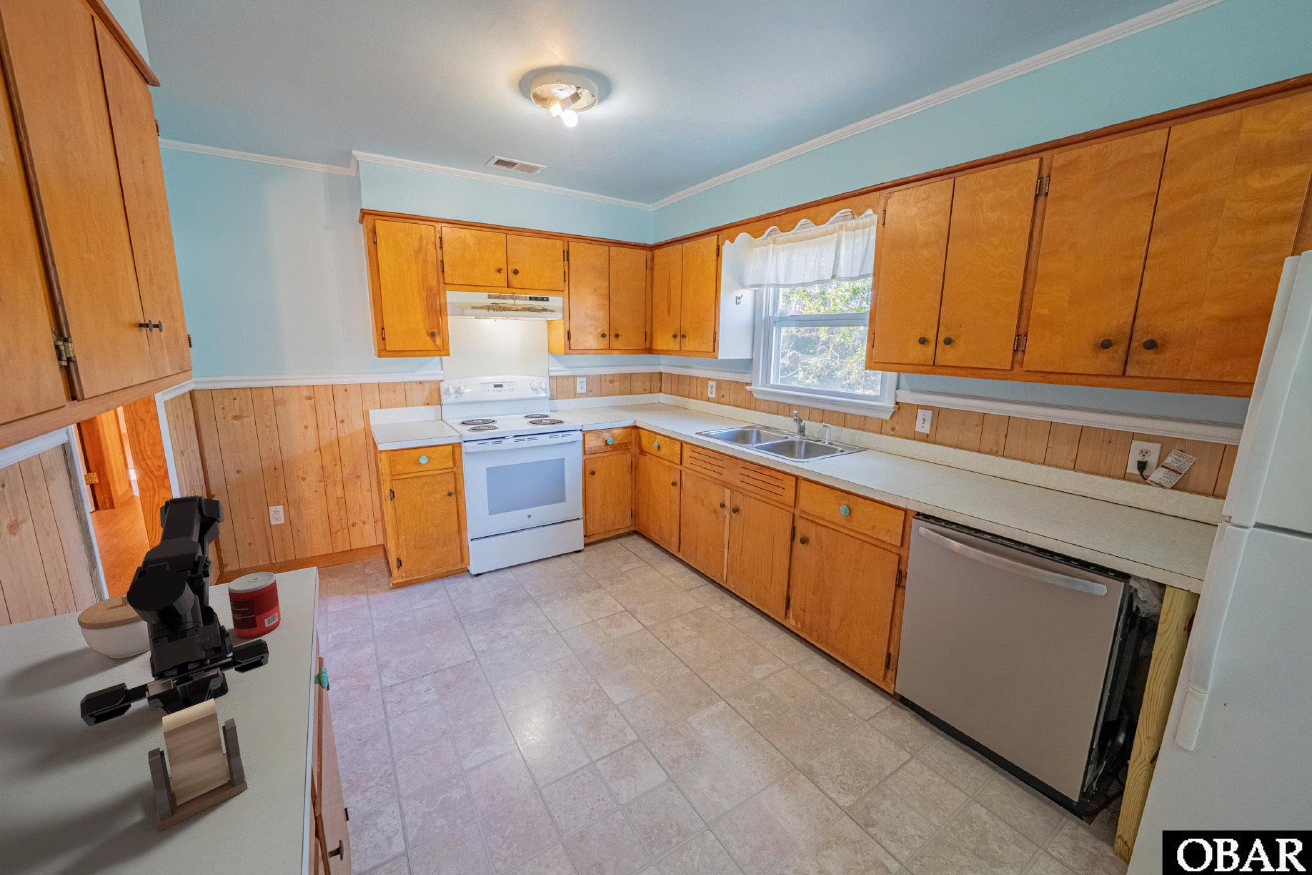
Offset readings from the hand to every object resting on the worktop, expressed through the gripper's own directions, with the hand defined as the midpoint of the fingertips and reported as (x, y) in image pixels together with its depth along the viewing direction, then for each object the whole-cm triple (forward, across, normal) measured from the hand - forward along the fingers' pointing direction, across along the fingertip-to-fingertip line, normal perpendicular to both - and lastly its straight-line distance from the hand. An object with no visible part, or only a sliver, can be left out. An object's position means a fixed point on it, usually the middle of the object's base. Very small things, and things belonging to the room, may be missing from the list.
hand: (193, 740), depth 67 cm
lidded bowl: (-29, -6, +39) cm, 50 cm away
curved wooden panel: (+5, 0, +3) cm, 6 cm away
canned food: (-24, +12, +34) cm, 43 cm away
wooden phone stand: (+6, 0, +5) cm, 7 cm away
